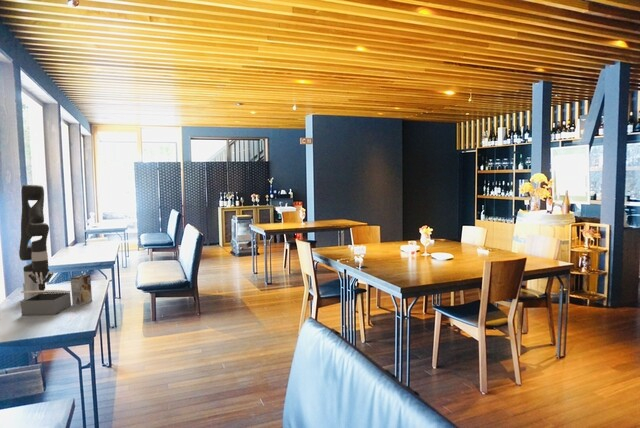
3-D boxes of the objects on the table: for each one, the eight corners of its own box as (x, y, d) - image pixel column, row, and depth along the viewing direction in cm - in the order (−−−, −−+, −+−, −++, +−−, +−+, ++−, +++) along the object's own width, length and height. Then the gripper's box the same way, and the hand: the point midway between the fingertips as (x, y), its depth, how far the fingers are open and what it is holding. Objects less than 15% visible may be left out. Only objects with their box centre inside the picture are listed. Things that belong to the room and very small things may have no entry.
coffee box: (83, 300, 268) (81, 274, 267) (92, 300, 267) (90, 274, 265) (72, 304, 259) (70, 277, 258) (81, 305, 258) (79, 278, 256)
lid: (20, 292, 239) (21, 290, 239) (38, 293, 255) (38, 291, 255) (54, 291, 239) (54, 290, 240) (70, 292, 255) (70, 290, 255)
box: (21, 315, 239) (20, 301, 239) (39, 307, 255) (38, 293, 255) (55, 314, 240) (54, 300, 239) (71, 306, 256) (70, 292, 255)
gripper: (55, 257, 246) (58, 288, 247) (31, 258, 245) (34, 289, 247) (48, 260, 238) (50, 291, 239) (23, 261, 238) (25, 292, 239)
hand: (42, 290), depth 243 cm, fingers closed
